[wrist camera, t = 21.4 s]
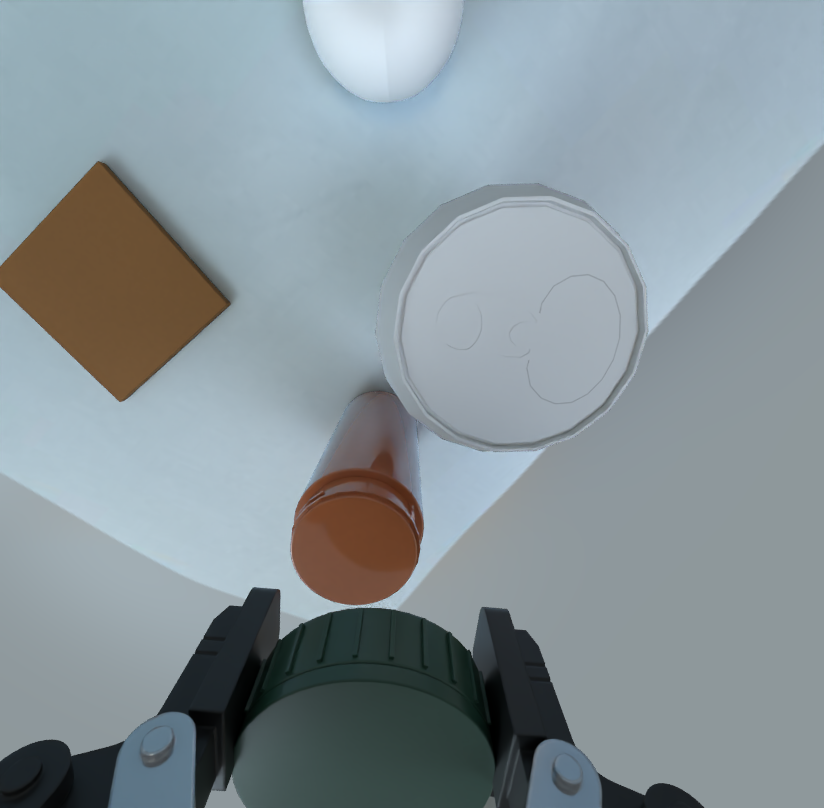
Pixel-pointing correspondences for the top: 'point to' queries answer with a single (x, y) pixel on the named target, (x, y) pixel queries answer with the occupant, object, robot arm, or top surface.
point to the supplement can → (511, 318)
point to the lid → (366, 718)
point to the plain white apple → (384, 43)
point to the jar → (362, 506)
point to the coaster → (110, 284)
